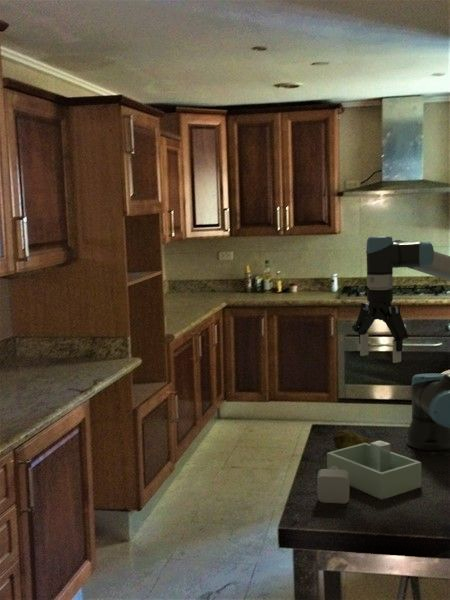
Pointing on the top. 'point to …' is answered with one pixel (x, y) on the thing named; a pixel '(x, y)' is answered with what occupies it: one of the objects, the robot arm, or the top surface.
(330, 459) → the open box
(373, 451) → the grey l-shaped block
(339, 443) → the potato
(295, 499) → the top surface
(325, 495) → the wall hook
